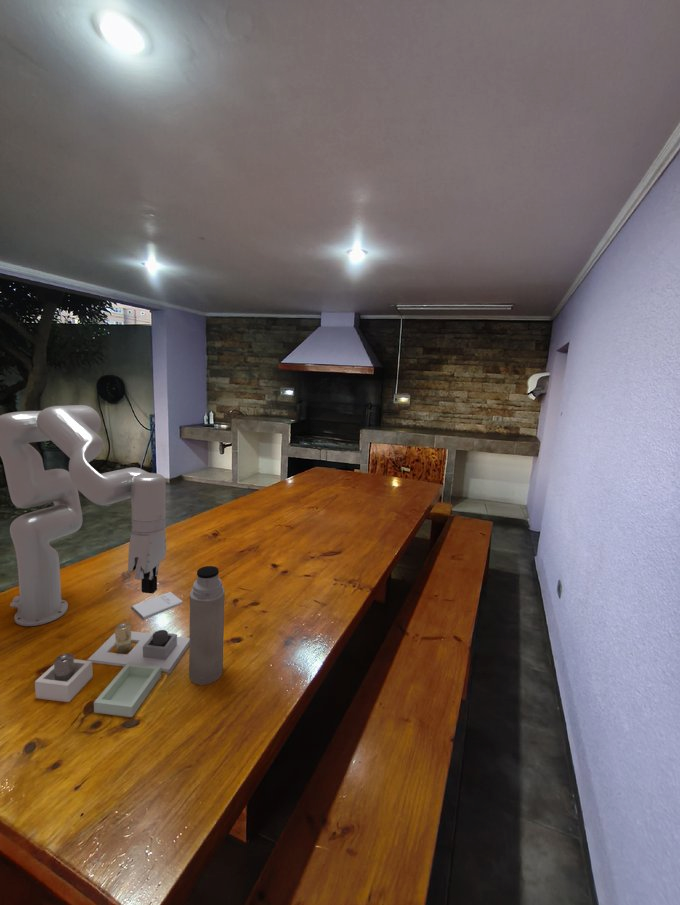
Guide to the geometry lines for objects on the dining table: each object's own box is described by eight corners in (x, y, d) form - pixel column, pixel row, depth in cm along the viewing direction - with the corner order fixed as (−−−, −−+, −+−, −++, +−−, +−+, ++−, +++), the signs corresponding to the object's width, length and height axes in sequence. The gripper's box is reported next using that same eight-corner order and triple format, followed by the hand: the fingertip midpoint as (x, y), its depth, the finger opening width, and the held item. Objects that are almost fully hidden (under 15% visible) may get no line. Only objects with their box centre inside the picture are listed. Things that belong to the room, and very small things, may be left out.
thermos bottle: (195, 660, 102) (196, 561, 97) (226, 662, 102) (228, 563, 97) (184, 684, 94) (184, 577, 89) (217, 685, 94) (220, 579, 89)
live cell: (112, 655, 102) (112, 627, 100) (121, 645, 105) (120, 619, 104) (126, 656, 101) (125, 629, 100) (134, 647, 105) (133, 620, 103)
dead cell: (51, 691, 88) (49, 660, 86) (63, 679, 91) (62, 649, 90) (67, 693, 88) (65, 662, 86) (78, 681, 91) (77, 651, 90)
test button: (149, 651, 101) (149, 638, 100) (157, 642, 104) (157, 629, 103) (163, 653, 100) (163, 639, 100) (170, 644, 104) (170, 630, 103)
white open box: (36, 701, 86) (34, 681, 85) (62, 675, 94) (61, 657, 93) (69, 705, 86) (68, 685, 85) (92, 679, 93) (92, 661, 92)
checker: (87, 664, 98) (87, 648, 97) (117, 634, 109) (117, 620, 109) (169, 674, 97) (169, 658, 96) (190, 642, 108) (190, 628, 108)
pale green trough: (94, 715, 84) (93, 702, 83) (127, 674, 96) (127, 662, 95) (132, 720, 83) (131, 707, 83) (161, 678, 95) (161, 666, 95)
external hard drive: (131, 610, 122) (169, 595, 131) (143, 621, 117) (182, 605, 126) (131, 605, 121) (169, 590, 131) (143, 616, 116) (182, 600, 126)
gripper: (150, 512, 104) (150, 575, 107) (115, 533, 89) (116, 606, 92) (177, 514, 103) (177, 578, 107) (147, 536, 89) (147, 609, 92)
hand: (149, 591), depth 100 cm, fingers closed
